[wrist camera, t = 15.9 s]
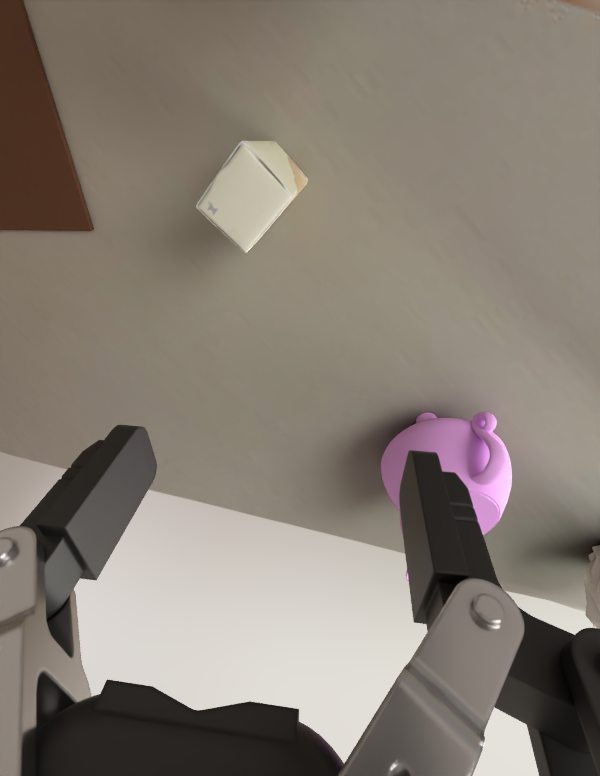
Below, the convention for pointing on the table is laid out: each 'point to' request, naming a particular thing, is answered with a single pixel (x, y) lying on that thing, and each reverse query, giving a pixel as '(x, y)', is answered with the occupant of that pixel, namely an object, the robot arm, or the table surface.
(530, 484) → the table surface
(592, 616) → the vase
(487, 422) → the teapot
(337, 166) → the table surface
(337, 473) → the table surface
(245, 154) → the box
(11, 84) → the mat
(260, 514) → the table surface
